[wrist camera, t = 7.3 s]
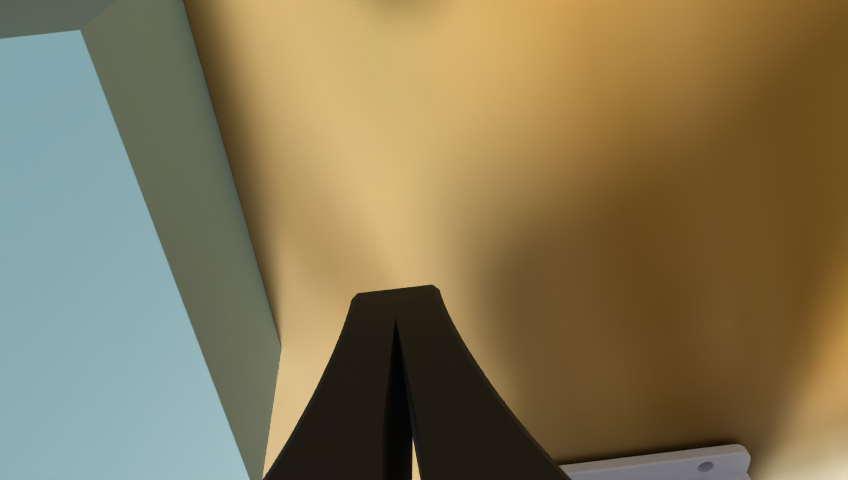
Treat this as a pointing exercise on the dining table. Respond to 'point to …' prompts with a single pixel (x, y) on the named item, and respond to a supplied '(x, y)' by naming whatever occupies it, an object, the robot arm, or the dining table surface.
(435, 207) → the dining table surface
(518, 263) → the dining table surface
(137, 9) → the block
